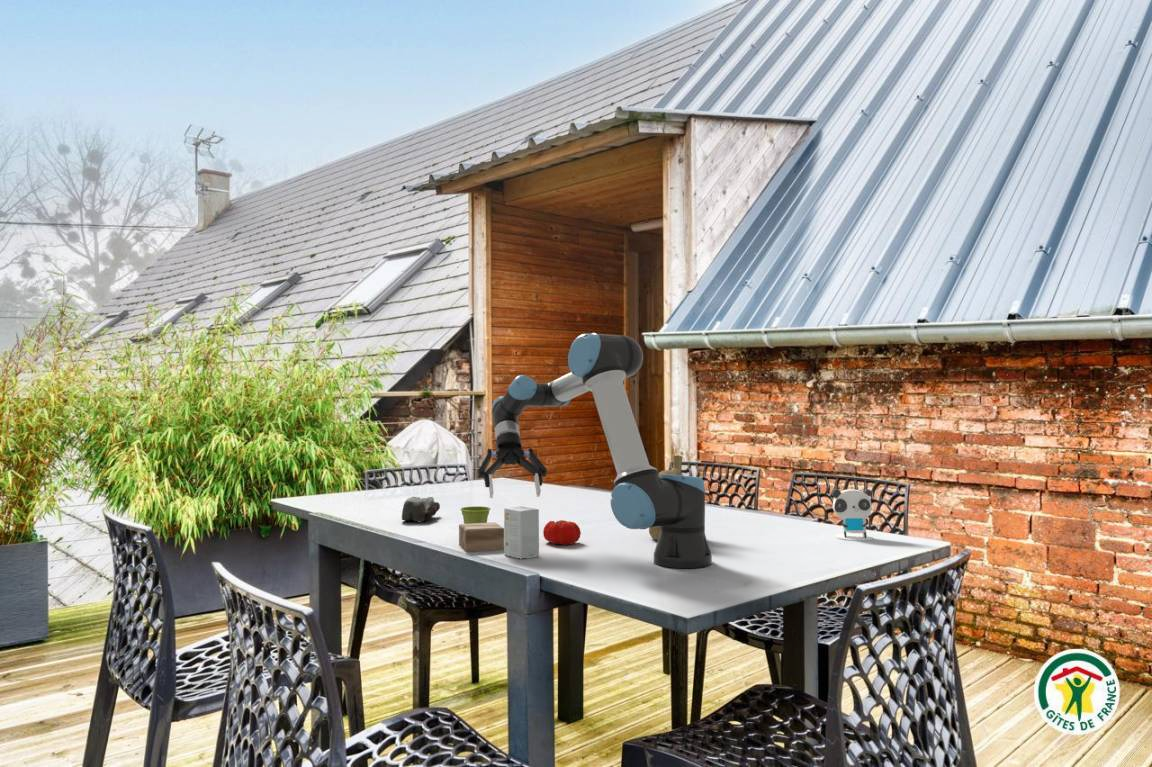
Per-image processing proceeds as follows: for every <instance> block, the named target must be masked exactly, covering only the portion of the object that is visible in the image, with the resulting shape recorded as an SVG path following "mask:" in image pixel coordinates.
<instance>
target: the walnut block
mask: <svg viewBox="0 0 1152 767" xmlns="http://www.w3.org/2000/svg"><path fill="white" fill-rule="evenodd" d="M458 546H461V547H462V548H463V549H464V550H465V551H467V552H466V553H469V552H468V551H472V552H482V551H481V550H489V551H498V550H497V549H504V526H503V527H502V525H500V524H499V523H498V522H497V523H496V522H493V521H492V522H487V523H473V524H464V523H461V524H459V525H458ZM461 547H460V548H461ZM462 548H461V549H462ZM463 549H462V550H463ZM494 549H496V550H494ZM464 550H463V551H464ZM465 551H464V552H465Z"/></svg>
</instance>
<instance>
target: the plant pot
mask: <svg viewBox="0 0 1152 767" xmlns="http://www.w3.org/2000/svg"><path fill="white" fill-rule="evenodd" d="M460 511H461V515H462V518H463V524H473V523H488V517H489V514H490V511H491V507H488V506H483V505H482V506H481V505H479V506H477V505H476V506H475V505H474V506H465V507H461V508H460Z"/></svg>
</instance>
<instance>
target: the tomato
mask: <svg viewBox="0 0 1152 767" xmlns="http://www.w3.org/2000/svg"><path fill="white" fill-rule="evenodd" d="M542 534H543V538H544V539H545V541H547V542H549V543H553V544H555V545H563V546H569V545H572V544H574V543H576V542H578V541H579V540H580V538H581V529H580V527H579V524H577V523H576V522H573V521H567V520H564V519H560V520H558V521H557V520H556V521H554V520H550V521H548V522H547V523H546V524H545V525H544V527H543V531H542Z"/></svg>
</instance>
